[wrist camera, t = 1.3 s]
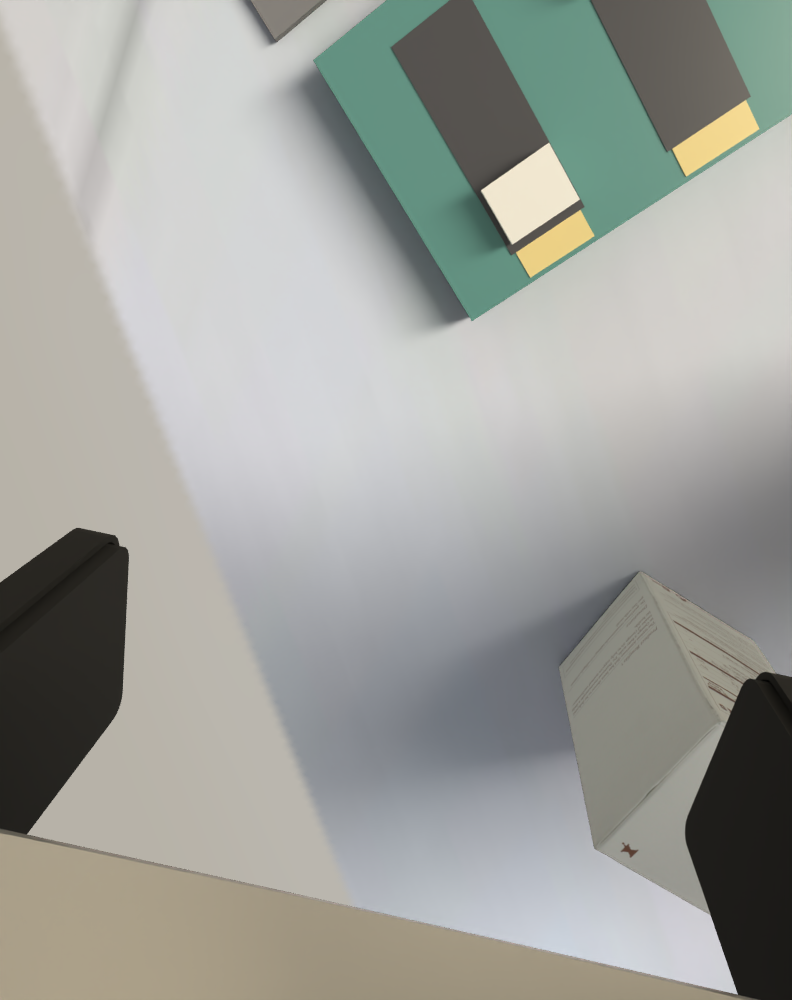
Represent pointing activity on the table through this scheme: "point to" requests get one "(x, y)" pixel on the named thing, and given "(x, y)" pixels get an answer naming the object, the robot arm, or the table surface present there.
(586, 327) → the table surface
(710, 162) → the switch panel
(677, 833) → the supplement box
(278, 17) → the mat
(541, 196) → the switch tab
